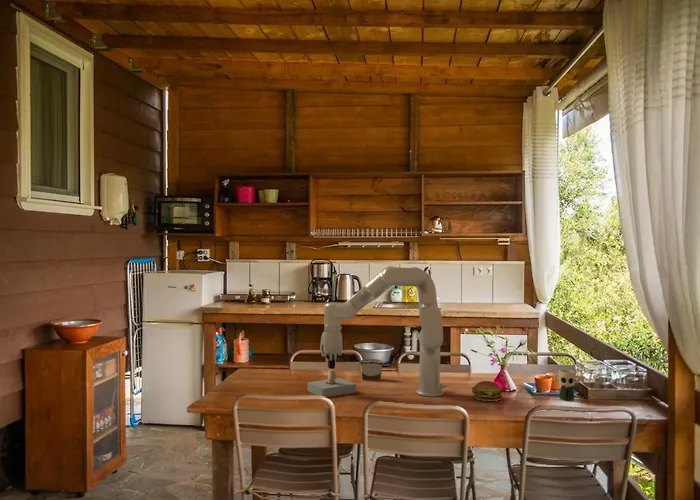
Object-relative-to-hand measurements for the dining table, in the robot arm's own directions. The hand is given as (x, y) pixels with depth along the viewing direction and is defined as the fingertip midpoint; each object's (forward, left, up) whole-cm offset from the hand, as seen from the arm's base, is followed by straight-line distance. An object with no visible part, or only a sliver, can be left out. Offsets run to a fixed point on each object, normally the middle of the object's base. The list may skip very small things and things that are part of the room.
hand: (331, 368), depth 258 cm
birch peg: (0, 0, -11) cm, 11 cm away
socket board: (0, 0, -11) cm, 11 cm away
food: (-54, +47, -11) cm, 73 cm away
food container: (-31, -11, -11) cm, 35 cm away
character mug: (-85, +66, -11) cm, 108 cm away
